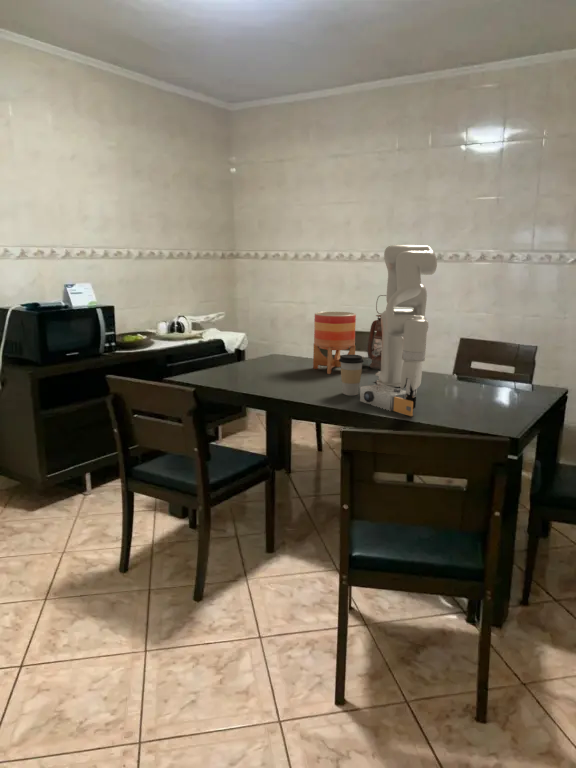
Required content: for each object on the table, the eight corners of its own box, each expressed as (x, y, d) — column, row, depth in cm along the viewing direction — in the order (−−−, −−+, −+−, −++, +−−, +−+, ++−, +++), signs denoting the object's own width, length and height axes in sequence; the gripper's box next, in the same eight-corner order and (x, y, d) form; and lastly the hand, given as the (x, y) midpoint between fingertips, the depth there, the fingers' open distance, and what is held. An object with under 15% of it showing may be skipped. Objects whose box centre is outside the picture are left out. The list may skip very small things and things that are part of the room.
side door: (393, 409, 196) (393, 395, 195) (412, 415, 189) (413, 401, 188) (390, 410, 195) (390, 396, 194) (409, 416, 188) (410, 402, 187)
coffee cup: (366, 392, 222) (367, 355, 219) (356, 397, 214) (357, 359, 211) (344, 389, 227) (345, 353, 223) (334, 394, 219) (335, 356, 215)
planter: (318, 364, 279) (320, 310, 273) (358, 367, 273) (360, 312, 267) (307, 372, 260) (308, 314, 254) (349, 375, 254) (351, 316, 248)
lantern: (373, 363, 283) (376, 293, 275) (401, 367, 273) (405, 295, 265) (361, 366, 275) (363, 294, 267) (389, 371, 265) (393, 296, 257)
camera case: (357, 401, 208) (358, 385, 207) (379, 397, 214) (380, 381, 213) (387, 411, 195) (388, 394, 194) (410, 407, 202) (411, 390, 200)
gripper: (408, 350, 196) (405, 401, 201) (396, 358, 183) (393, 412, 188) (430, 352, 193) (426, 403, 197) (419, 360, 180) (415, 415, 184)
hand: (410, 407), depth 192 cm, fingers closed
